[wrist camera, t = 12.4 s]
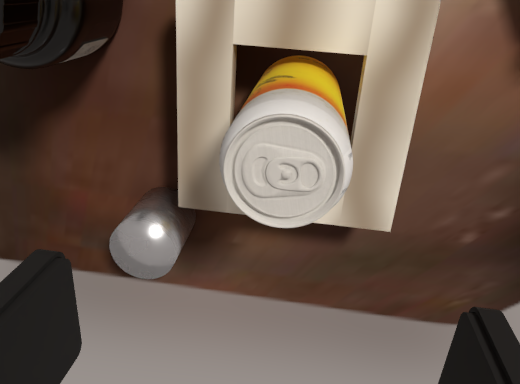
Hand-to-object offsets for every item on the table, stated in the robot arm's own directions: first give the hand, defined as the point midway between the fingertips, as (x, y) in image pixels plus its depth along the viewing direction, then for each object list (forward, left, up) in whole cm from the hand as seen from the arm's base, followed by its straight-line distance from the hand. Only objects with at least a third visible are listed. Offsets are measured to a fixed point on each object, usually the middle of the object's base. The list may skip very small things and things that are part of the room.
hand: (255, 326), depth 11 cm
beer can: (0, 0, -25) cm, 25 cm away
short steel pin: (+10, +11, -25) cm, 29 cm away
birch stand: (0, 0, -25) cm, 25 cm away
